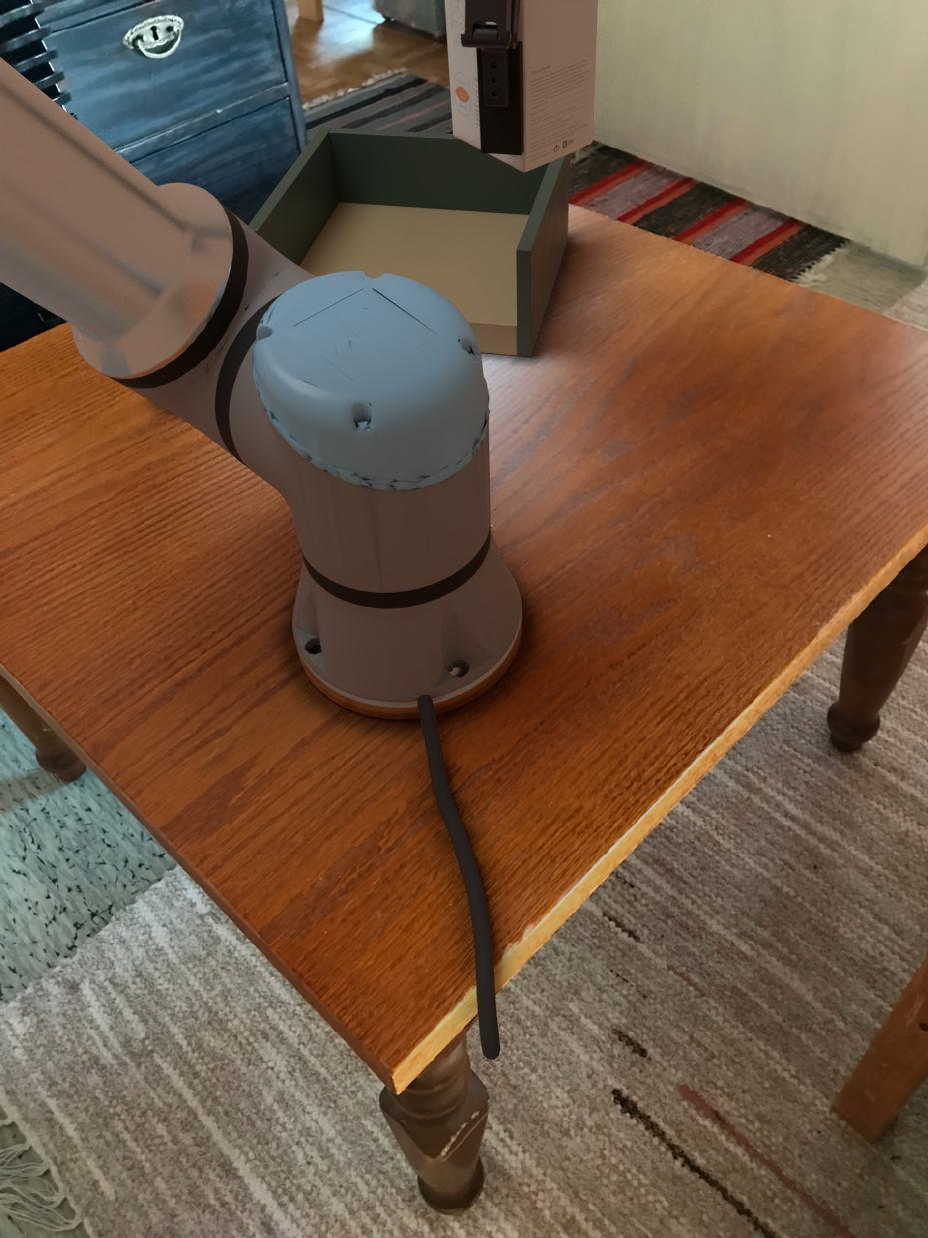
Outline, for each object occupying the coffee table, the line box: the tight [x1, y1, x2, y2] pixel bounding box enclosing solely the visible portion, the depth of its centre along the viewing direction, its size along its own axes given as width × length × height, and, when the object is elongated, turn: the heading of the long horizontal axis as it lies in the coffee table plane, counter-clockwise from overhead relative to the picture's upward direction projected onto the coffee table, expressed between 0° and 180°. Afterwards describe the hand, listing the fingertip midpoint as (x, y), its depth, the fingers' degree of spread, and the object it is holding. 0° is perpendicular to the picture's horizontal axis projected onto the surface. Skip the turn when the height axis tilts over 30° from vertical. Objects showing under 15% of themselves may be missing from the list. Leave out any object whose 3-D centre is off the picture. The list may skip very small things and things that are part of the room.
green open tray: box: [247, 126, 571, 358], centre depth 91 cm, size 20×25×10 cm
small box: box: [444, 0, 599, 172], centre depth 63 cm, size 8×6×13 cm
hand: (520, 116), depth 67 cm, fingers closed on small box, 10 cm apart
